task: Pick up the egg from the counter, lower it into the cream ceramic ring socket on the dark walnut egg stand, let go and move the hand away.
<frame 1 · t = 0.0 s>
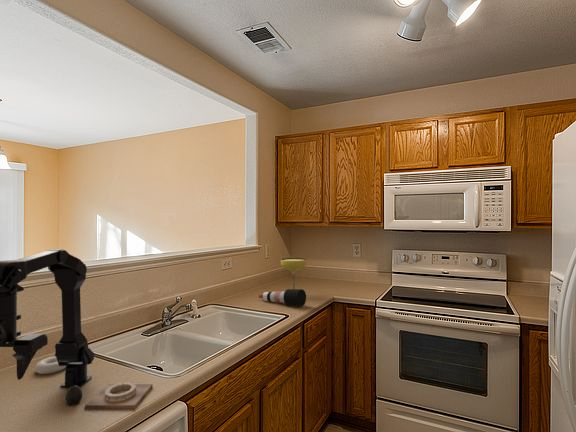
hand: (1, 378, 80), 15 cm above the counter, fingers open, 9 cm apart
donut: (52, 370, 118), on the counter
egg: (73, 403, 96), on the counter
cocktail glass: (293, 295, 232), on the counter
egg stand: (120, 397, 99), on the counter
bottle: (279, 304, 210), on the counter
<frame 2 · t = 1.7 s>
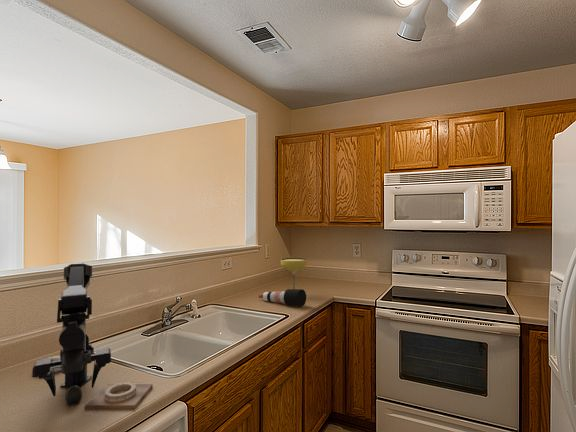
hand: (73, 391, 96), 3 cm above the counter, fingers open, 9 cm apart
nothing on the counter moved.
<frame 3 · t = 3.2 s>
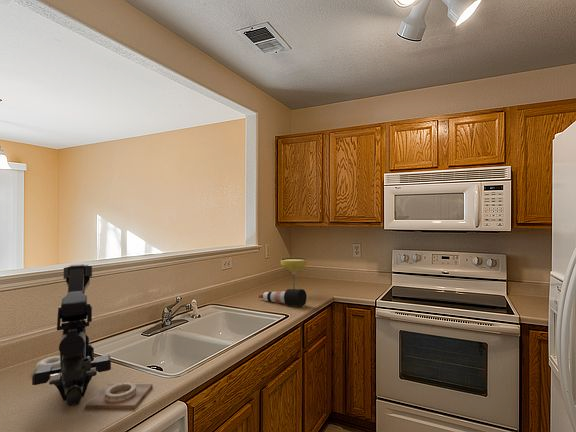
hand: (73, 398, 96), 1 cm above the counter, fingers closed on egg, 4 cm apart
egg: (73, 403, 96), on the counter, touching gripper
everything else where it was.
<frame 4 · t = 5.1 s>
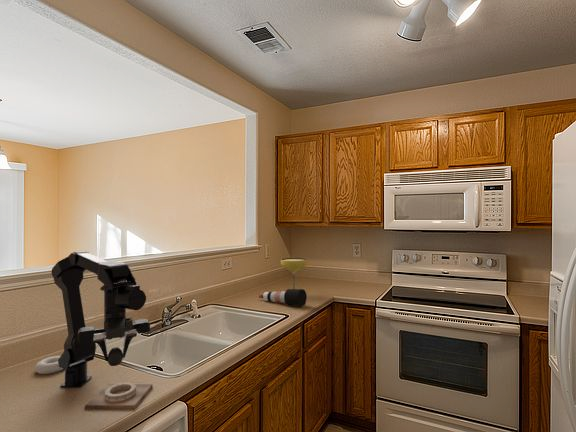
hand: (115, 359, 98), 12 cm above the counter, fingers closed on egg, 4 cm apart
egg: (115, 364, 98), point 10 cm above the counter, touching gripper
everything else where it was.
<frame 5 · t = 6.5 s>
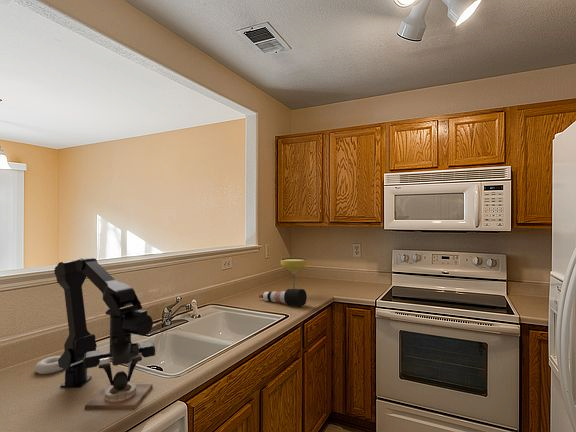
hand: (120, 382, 99), 4 cm above the counter, fingers closed on egg, 4 cm apart
egg: (120, 388, 99), point 3 cm above the counter, touching gripper
everything else where it was.
when the fingers open (3 cm above the counter, at t = 7.5 s): egg stays where it is, resting on egg stand.
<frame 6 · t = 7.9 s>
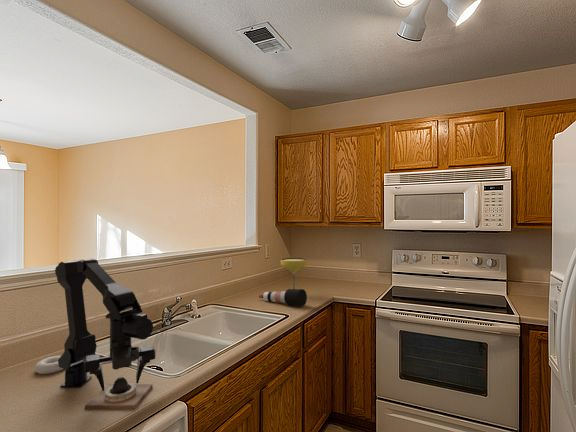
hand: (120, 386, 99), 3 cm above the counter, fingers open, 9 cm apart
egg: (120, 394, 99), point 1 cm above the counter, touching egg stand
everything else where it was.
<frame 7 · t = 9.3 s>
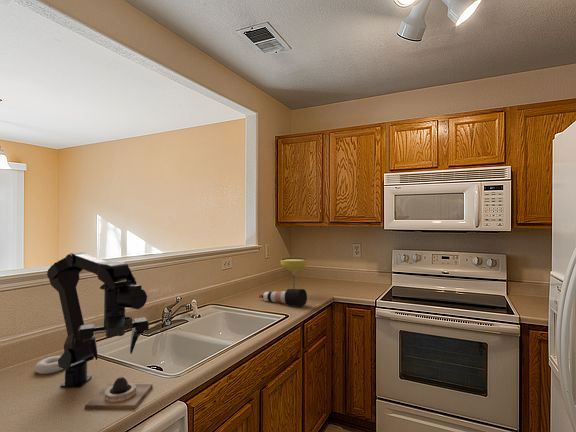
hand: (114, 356, 101), 11 cm above the counter, fingers open, 9 cm apart
nothing on the counter moved.
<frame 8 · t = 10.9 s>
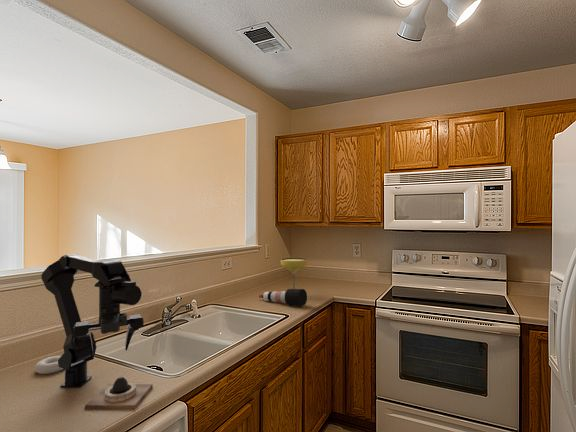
hand: (109, 352, 102), 12 cm above the counter, fingers open, 9 cm apart
nothing on the counter moved.
at the end: egg 0.1 cm from the egg stand (horizontally); egg point 0.8 cm above the counter; the gripper is holding nothing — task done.
